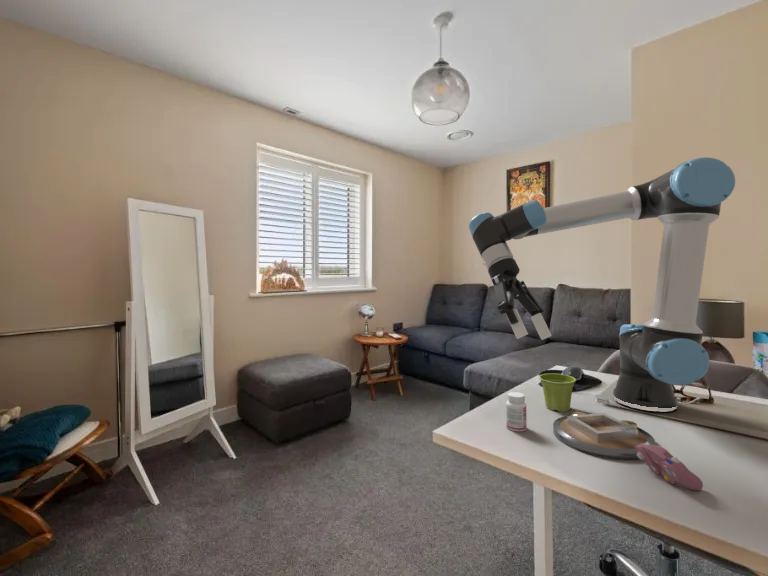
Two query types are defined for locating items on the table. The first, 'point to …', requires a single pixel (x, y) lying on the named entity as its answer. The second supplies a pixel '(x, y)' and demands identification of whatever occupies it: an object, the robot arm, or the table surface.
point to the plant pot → (557, 390)
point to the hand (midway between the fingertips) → (535, 337)
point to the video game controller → (667, 466)
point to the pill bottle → (516, 412)
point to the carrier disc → (601, 435)
